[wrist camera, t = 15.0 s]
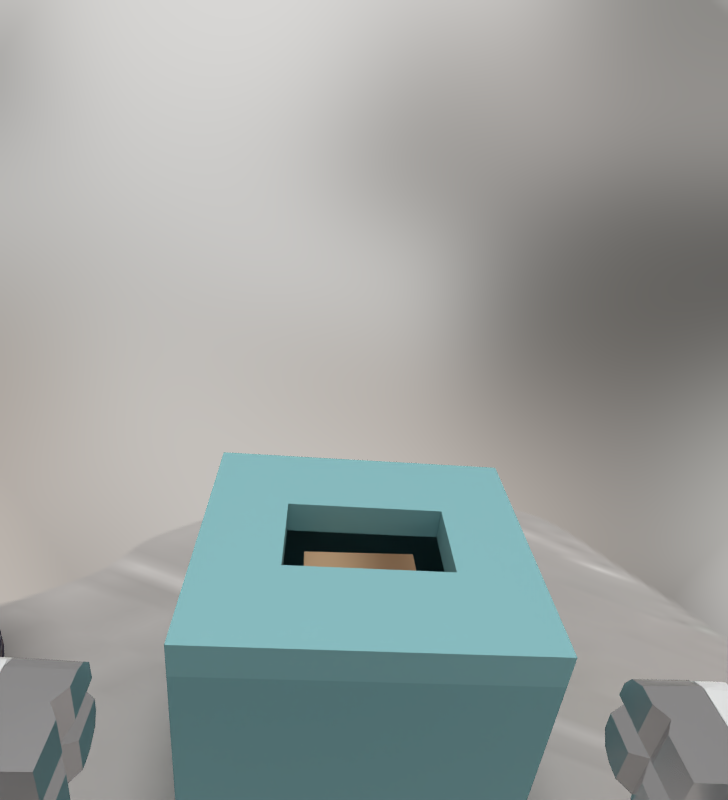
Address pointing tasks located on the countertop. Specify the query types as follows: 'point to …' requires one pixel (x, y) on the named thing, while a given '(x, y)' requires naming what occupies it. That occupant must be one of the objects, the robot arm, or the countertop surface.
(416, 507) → the money box
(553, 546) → the countertop surface
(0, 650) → the storage jar
